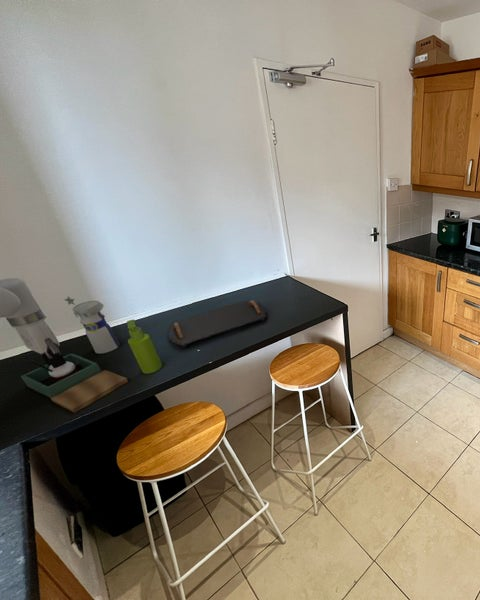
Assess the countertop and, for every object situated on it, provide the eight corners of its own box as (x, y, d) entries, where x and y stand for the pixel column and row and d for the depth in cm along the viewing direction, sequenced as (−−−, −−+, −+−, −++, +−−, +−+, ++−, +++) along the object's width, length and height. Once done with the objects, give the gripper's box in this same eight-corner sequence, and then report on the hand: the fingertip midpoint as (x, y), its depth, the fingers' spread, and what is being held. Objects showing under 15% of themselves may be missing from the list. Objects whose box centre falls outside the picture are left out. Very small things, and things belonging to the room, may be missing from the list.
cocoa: (84, 369, 113) (69, 341, 107) (85, 378, 109) (70, 350, 104) (46, 380, 107) (29, 352, 102) (46, 390, 103) (28, 362, 98)
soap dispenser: (143, 377, 109) (119, 329, 100) (142, 367, 114) (119, 320, 105) (163, 370, 112) (142, 323, 103) (161, 361, 117) (140, 315, 108)
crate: (53, 399, 100) (46, 388, 98) (27, 386, 105) (20, 376, 103) (102, 373, 111) (97, 363, 109) (77, 362, 116) (71, 353, 114)
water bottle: (118, 350, 123) (89, 293, 112) (90, 356, 120) (58, 298, 109) (124, 339, 130) (97, 285, 118) (98, 345, 127) (68, 289, 115)
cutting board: (74, 413, 95) (72, 409, 94) (52, 402, 99) (50, 398, 98) (128, 381, 107) (126, 378, 107) (107, 372, 111) (105, 369, 111)
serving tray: (256, 302, 159) (253, 291, 156) (273, 320, 143) (271, 308, 141) (165, 330, 136) (160, 317, 134) (174, 354, 121) (169, 341, 118)
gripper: (-4, 318, 97) (29, 365, 105) (24, 328, 91) (56, 377, 100) (29, 307, 103) (57, 352, 111) (57, 316, 97) (84, 363, 106)
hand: (56, 363), depth 105 cm, fingers closed on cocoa, 3 cm apart
